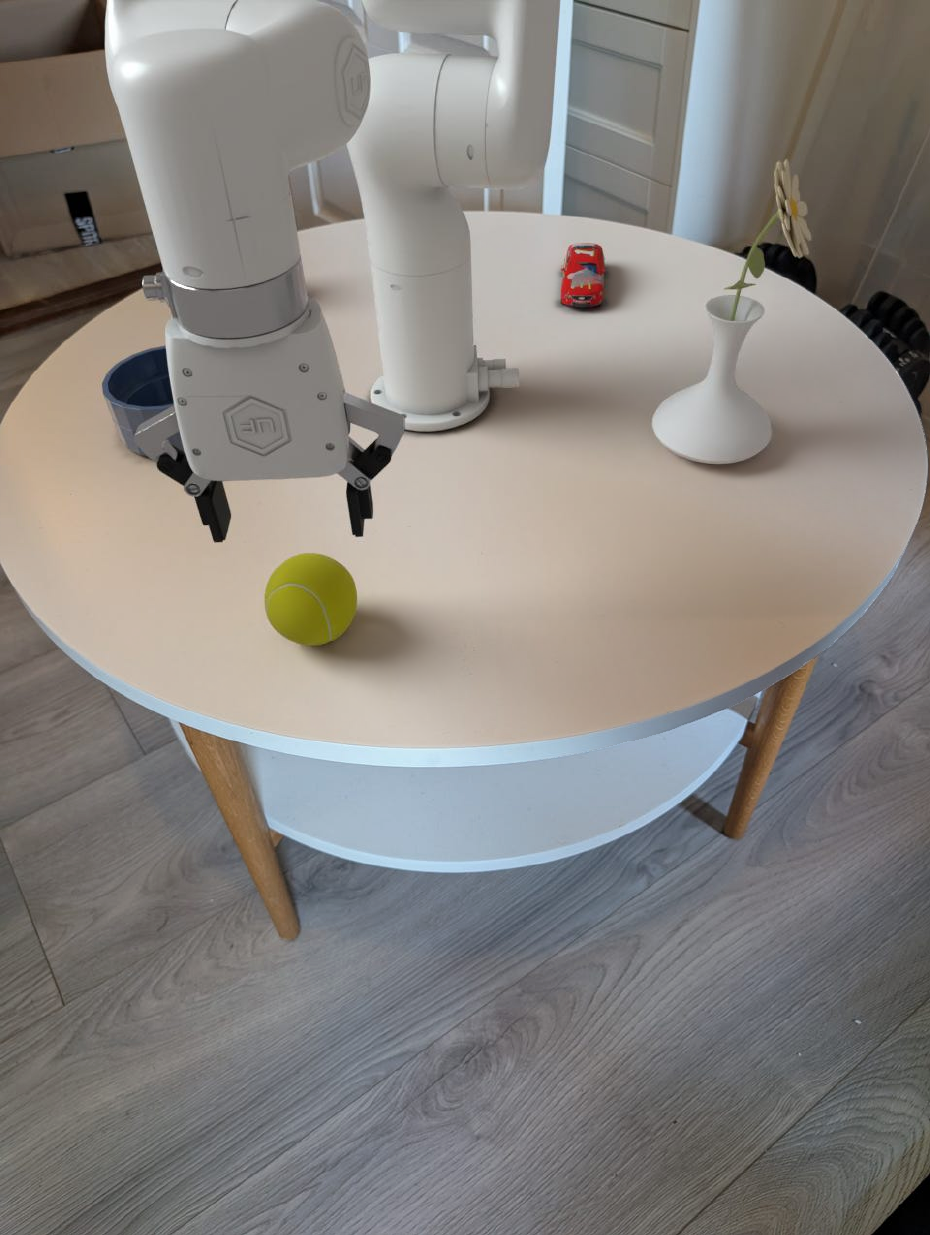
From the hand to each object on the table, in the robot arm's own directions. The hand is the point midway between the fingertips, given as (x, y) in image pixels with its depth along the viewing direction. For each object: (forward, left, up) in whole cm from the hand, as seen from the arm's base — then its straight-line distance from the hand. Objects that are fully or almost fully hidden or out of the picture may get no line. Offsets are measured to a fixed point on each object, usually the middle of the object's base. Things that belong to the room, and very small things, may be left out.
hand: (291, 527), depth 62 cm
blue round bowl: (+17, -30, -11) cm, 37 cm away
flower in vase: (-37, -24, -11) cm, 46 cm away
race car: (-28, -57, -11) cm, 65 cm away
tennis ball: (0, 0, -11) cm, 11 cm away
